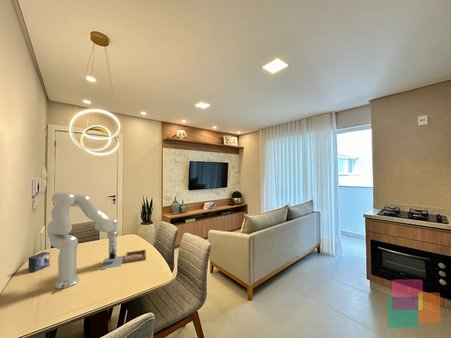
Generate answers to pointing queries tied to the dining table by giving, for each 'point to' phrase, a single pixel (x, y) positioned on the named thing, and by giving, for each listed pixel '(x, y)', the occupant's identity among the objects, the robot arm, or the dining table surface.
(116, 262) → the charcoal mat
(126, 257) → the walnut bin
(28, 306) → the dining table surface
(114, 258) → the sage block
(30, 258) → the small box
